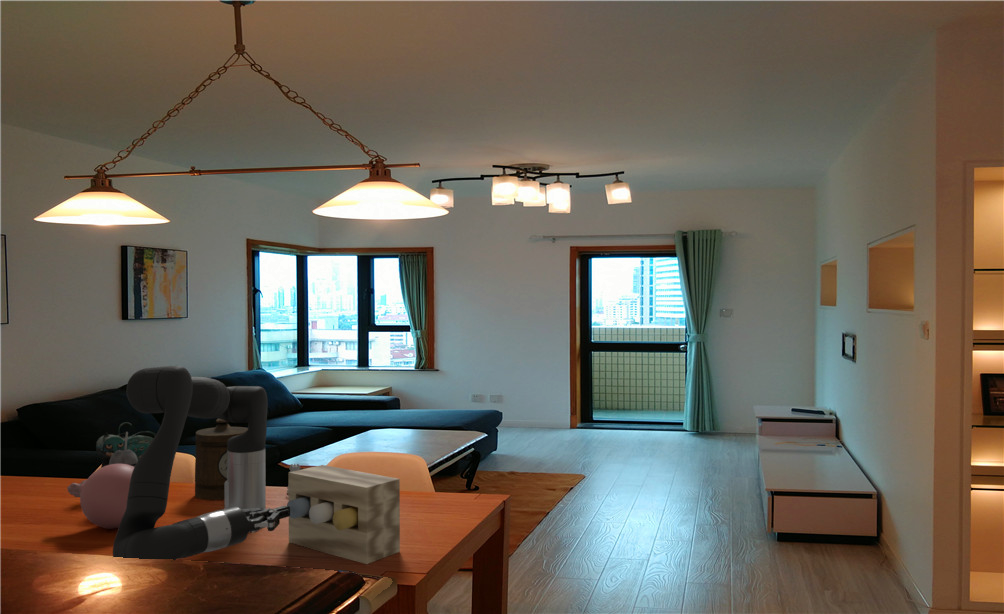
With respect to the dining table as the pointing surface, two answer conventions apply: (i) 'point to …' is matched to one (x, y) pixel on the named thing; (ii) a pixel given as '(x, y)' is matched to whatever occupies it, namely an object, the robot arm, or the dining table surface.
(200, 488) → the wooden container
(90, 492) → the balloon
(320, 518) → the white button
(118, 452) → the beverage cup
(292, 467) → the rook chess piece
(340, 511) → the ochre button
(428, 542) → the dining table surface
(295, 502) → the slate button
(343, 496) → the block
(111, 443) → the ceramic cat
